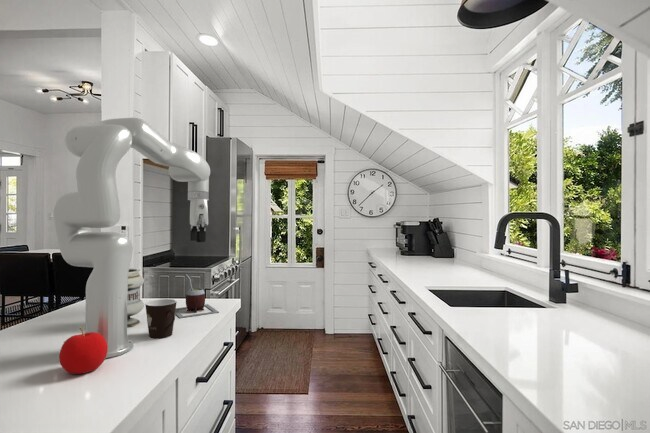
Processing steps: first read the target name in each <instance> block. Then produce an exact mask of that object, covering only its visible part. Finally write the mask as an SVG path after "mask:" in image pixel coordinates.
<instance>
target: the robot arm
mask: <svg viewBox="0 0 650 433" xmlns="http://www.w3.org/2000/svg"><path fill="white" fill-rule="evenodd" d="M64 139H65V140H64V143H65V146H66V148H67V149H68V151H69V152H70V153H71V154H72V155H74V156H75V157H78V158H79V160H78V162H77V165H76V169H75V177H76V178H75V179H76V180H75V181H76V188H77V191H70V192H67V193H64V194H62V195H60V196H59V197H58V199H57V200H56V202H55V204H54V206H53V210H52V212H53V214H52V216H53V221H54V222H53V223H54V227H55V231H56V237H57V243H58V246H59V247H58V248H59V251H60V254H61V256H62V258H63V260H64V261H65V262H66V263H67V264H68V265H70V266H73V267H80V268H81V267H82V268H93V269H92V271H91V273H90V274H89V277H88V279H87V281H86V285H85V314H84V315H85V319H84V320H85V322H84V324H85V325H84V326H85V328H84V330H85V332H84V333H90V332H95V333H99V334H101V335H102V336H103V337H104V338H105V340H106V342H107V346H108V351H107V355H106V358H105V359H108V358H113V357H118V356H120V355H124V354H125V353H126V354H127V352H129V351H131V350H132V349H133V348H134V341H133V340H132V339H129V338H128V327H127V301H128V272H129V268H130V267H131V266H130V264H131V261H132V257H133V251H134V250H133V249H134V247H133V244H132V242H131V239H130V238H128V237H127V236H126V235H125V234H123V233H120V232H113V231H93V230H92V229H105V228H112V227H113V226H116V225H117V224H118V223H119V221H120V219H121V206H120V200H119V192H118V188H117V180H116V171H117V167H118V165H119V163H120V161H121V160H122V159H123V157H124V156H125V155H126V154H127V153H128V152H129V150H131V149H133V150H135V151H136V152H138V153H139V154H141V155H142V156H144V157H145V158H147V159H148V160H150V161H151V162H152V163H153V164H157V165H160V166H161V165H162V166H165V167H168V174H169V176H170V177H171V179H172V180H174V181H176V182H180V183H181V182H183V183H185V182H186V183H187V201H190V204H189V225H190V236H189V237H190V241H193V242H194V241H196V243H205V242H206V236H207V235H206V227H208V225H209V210H208V209H209V208H208V201H209V200H210V199H209V195H210V194H209V192H210V190H209V189H210V188H209V187H210V176H211V168H210V165H209V163H208V162H207V160H206V159H204V158H203V157H202V155H200V154H199V153H197V152H196V151H194V150H192V149H189V148H186V147H184V146H182V145H180V144H177V143H174V142H171V141H169V140H168V138H166V137H165V136H163V135H162V134H161V133H160V132H159V131H157V130H156V129H155V128H154V127H153V126H152V125H151V124H149V122H146V121H145V120H144V119H141V118H138V117H124V118H123V117H121V118H108V119H105V120H101V121H96V122H95V121H94V122H90V123H86V124H81V125H76V126H74V127H72V128H70V129H69V130H68V131H67V132H66V134H65V138H64ZM65 341H66V340H65ZM65 341H63V343H64V342H65Z"/></svg>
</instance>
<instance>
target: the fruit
mask: <svg viewBox="0 0 650 433" xmlns="http://www.w3.org/2000/svg"><path fill="white" fill-rule="evenodd" d="M79 330H80V331H81V334H75V335H71V336H70V337H68V338H67V339H66V340H65V342H64V341H63V344H62V345H61V348H60V349H59V355H58V356H59V357H58V360H59V364H60V366H61V368H62V369H63V370H64V371H65V372H66V373H68V374H72V375H73V374H74V375H77V374H78V375H81V374H85V373H91V372H94V371H95V370H97V369H98V368H100V366H101V365H102V364H103V363H104V361H105V359H107V358H106V355H107V351H108V346H107V342H106V340H105V338H104V337H103V336H102V335H101V334H99V333H95V332H90V333H85V332H83V327H81V326H80V327H79Z"/></svg>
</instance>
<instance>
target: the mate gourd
mask: <svg viewBox="0 0 650 433" xmlns="http://www.w3.org/2000/svg"><path fill="white" fill-rule="evenodd" d="M184 275H185V276H186V277H187V280H188V282H189V287H190V289H188V290H187V291H186V292H185V293H186V294H185V307H187V309H186V313H188V311H189V312H194V314H198V313H197V312H200V311H201V312H202V311H205V306H204V305H205V304H206V293H205V290H204V289H203V288H193V285H192V279H191V278H190V276H189V275H188V274H186V273H184Z"/></svg>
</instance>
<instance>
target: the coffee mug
mask: <svg viewBox="0 0 650 433" xmlns="http://www.w3.org/2000/svg"><path fill="white" fill-rule="evenodd" d="M144 303H145V304H144V307H145V312H146V324H147V330H148V338H149V339H152V340H161V339H167V338H169V337H171V336H173V331H174V323H175V320H176V314H175V310H176V308H177V303H178V302H177V300H176V299H172V298H162V299H161V298H160V299H154V300H149V301H147V302H144Z"/></svg>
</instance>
